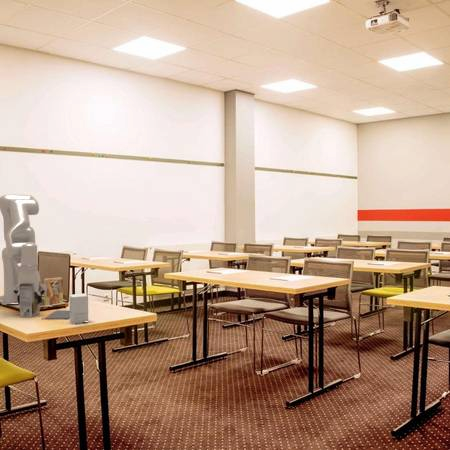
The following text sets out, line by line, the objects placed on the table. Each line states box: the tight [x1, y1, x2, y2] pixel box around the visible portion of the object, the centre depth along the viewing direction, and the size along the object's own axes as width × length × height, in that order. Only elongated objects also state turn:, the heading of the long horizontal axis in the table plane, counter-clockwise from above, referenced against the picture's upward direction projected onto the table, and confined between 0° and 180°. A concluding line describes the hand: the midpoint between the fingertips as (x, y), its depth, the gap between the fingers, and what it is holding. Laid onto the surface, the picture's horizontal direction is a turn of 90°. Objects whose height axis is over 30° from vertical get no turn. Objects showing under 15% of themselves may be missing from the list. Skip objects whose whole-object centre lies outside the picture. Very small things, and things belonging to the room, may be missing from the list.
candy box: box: [43, 277, 64, 306], centre depth 274 cm, size 9×4×15 cm, turn 129°
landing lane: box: [41, 309, 70, 320], centre depth 253 cm, size 13×18×1 cm
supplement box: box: [68, 293, 89, 324], centre depth 239 cm, size 7×7×13 cm
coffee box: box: [19, 284, 40, 318], centre depth 253 cm, size 9×6×16 cm
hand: (29, 303), depth 253 cm, fingers open, 9 cm apart
